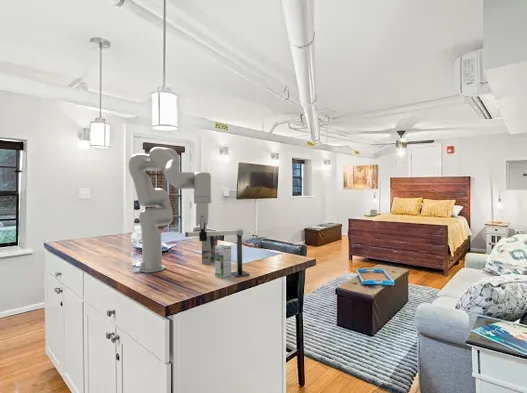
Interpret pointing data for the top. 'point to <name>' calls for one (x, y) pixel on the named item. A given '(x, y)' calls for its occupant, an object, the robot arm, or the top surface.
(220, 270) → the syrup box
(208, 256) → the coffee box
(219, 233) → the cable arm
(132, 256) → the top surface
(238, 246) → the stand
